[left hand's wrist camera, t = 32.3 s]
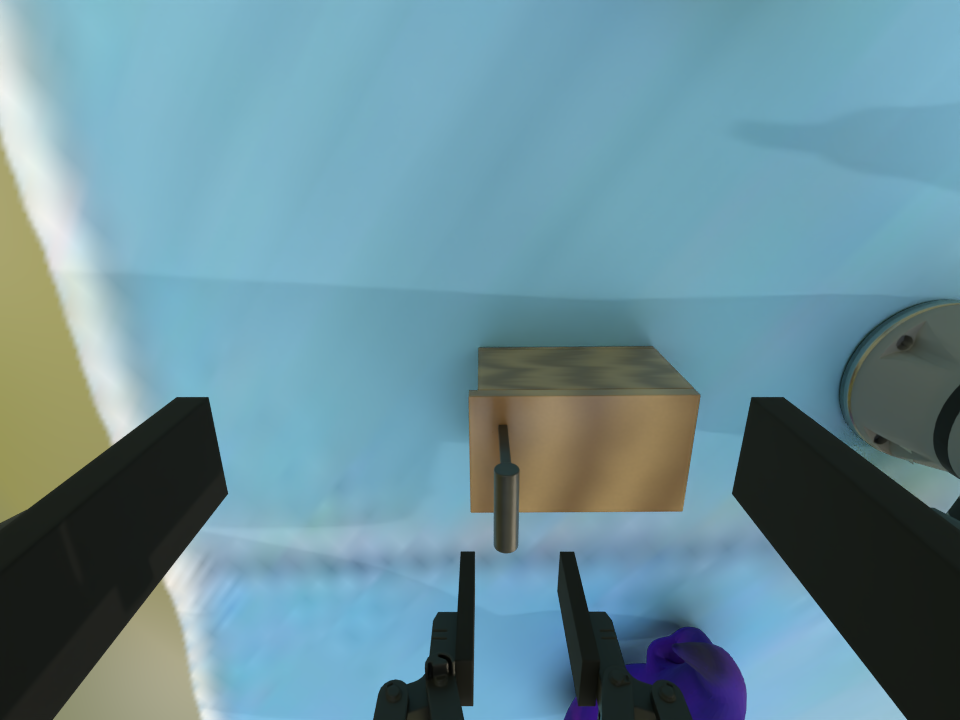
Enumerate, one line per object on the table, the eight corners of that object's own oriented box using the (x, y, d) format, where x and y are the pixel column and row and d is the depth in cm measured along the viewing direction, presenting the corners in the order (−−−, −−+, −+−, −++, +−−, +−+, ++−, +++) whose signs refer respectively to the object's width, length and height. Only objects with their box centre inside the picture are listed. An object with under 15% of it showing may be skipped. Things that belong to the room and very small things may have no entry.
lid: (470, 504, 42) (468, 579, 34) (468, 390, 38) (465, 445, 31) (677, 502, 42) (721, 578, 34) (694, 388, 38) (748, 444, 30)
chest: (479, 443, 51) (479, 503, 42) (478, 347, 47) (477, 389, 38) (642, 442, 51) (677, 502, 42) (653, 345, 47) (694, 388, 38)
